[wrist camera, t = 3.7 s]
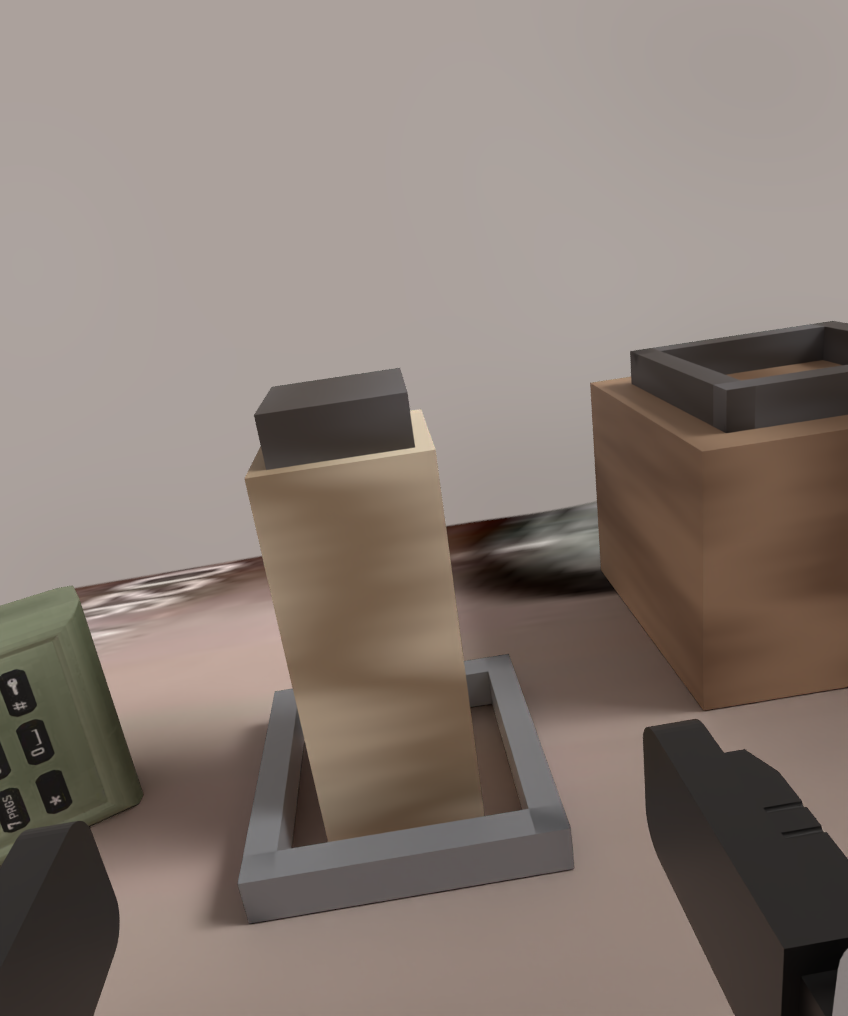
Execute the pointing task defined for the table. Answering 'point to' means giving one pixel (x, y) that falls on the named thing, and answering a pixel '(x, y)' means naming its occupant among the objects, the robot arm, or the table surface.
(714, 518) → the walnut dock
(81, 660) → the handheld radio
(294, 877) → the low socket
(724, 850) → the robot arm
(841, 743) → the table surface
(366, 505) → the beech plug
